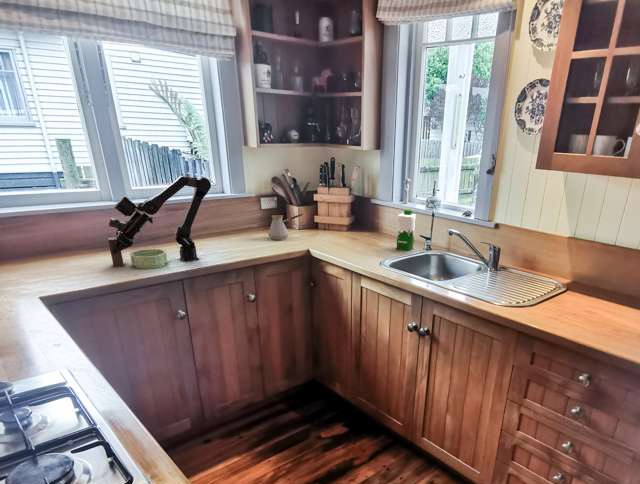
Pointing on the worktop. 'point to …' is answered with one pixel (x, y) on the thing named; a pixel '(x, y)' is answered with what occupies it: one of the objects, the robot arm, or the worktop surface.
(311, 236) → the worktop surface
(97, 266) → the worktop surface
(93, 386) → the worktop surface
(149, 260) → the bowl
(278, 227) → the coffee pot
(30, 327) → the worktop surface
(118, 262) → the brown wooden block
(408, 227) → the milk carton
